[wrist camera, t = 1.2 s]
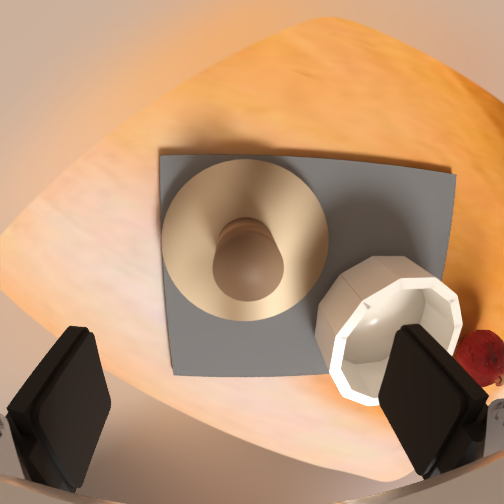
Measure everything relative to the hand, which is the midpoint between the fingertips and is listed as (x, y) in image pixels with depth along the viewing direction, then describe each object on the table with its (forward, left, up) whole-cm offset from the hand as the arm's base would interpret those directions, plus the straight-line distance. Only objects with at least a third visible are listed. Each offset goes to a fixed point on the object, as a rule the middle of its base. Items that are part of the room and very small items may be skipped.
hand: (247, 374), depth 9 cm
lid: (0, 0, -16) cm, 15 cm away
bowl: (-12, +6, -15) cm, 20 cm away
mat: (-6, +3, -16) cm, 17 cm away
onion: (-24, +11, -16) cm, 31 cm away
